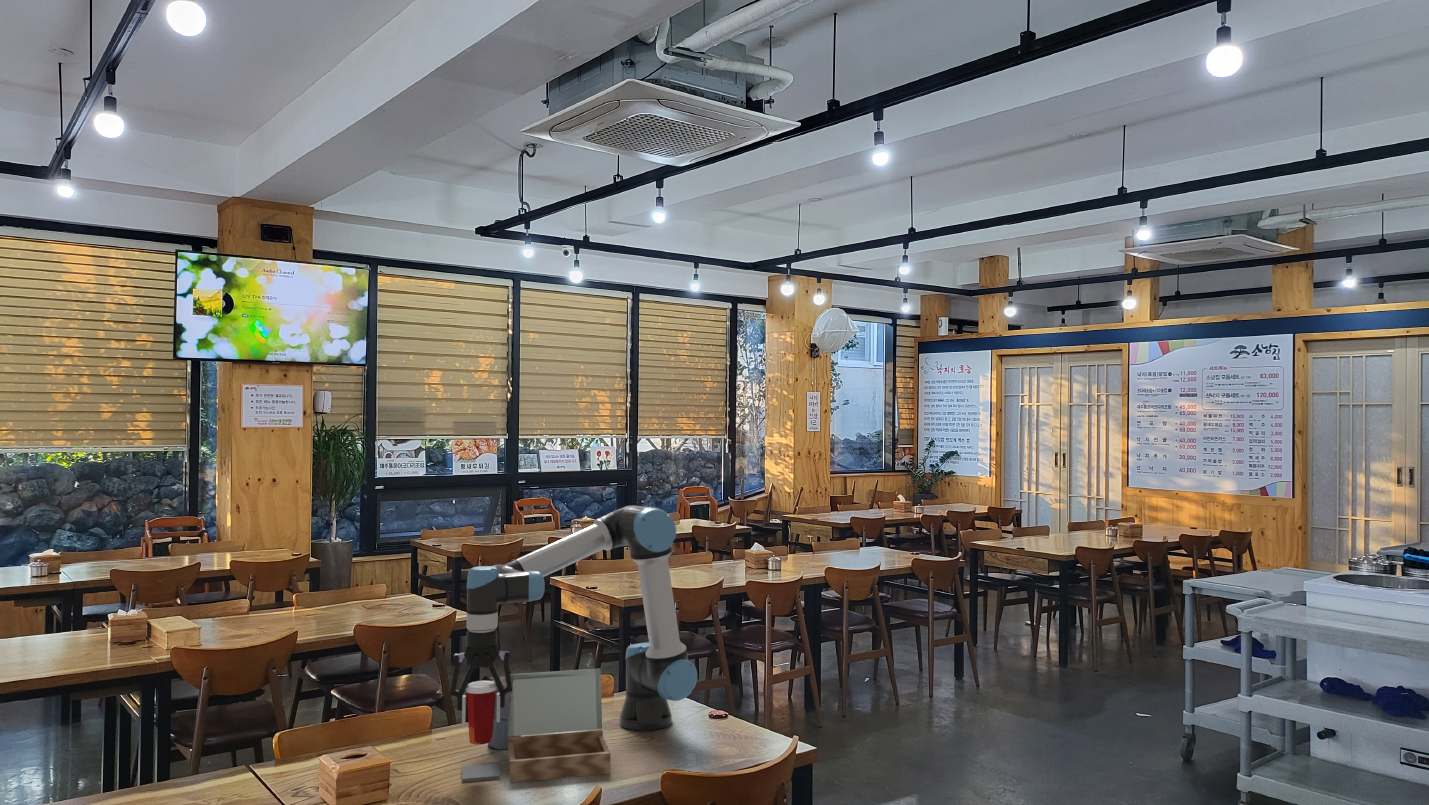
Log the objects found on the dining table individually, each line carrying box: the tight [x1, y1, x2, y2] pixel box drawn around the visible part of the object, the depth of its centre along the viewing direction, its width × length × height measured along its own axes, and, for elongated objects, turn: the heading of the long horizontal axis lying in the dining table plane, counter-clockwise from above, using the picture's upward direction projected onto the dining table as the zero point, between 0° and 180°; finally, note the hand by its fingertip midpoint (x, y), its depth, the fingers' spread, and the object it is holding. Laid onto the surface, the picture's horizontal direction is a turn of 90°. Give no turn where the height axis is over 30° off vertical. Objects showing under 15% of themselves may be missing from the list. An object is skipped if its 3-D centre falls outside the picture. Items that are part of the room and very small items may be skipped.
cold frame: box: [507, 729, 611, 784], centre depth 234 cm, size 24×15×6 cm, turn 105°
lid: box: [508, 668, 603, 736], centre depth 244 cm, size 24×15×1 cm
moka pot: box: [480, 671, 522, 751], centre depth 251 cm, size 10×15×20 cm, turn 78°
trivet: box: [461, 762, 501, 783], centre depth 229 cm, size 9×9×1 cm
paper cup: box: [464, 680, 497, 745], centre depth 230 cm, size 8×8×14 cm
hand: (480, 721), depth 230 cm, fingers closed on paper cup, 8 cm apart
